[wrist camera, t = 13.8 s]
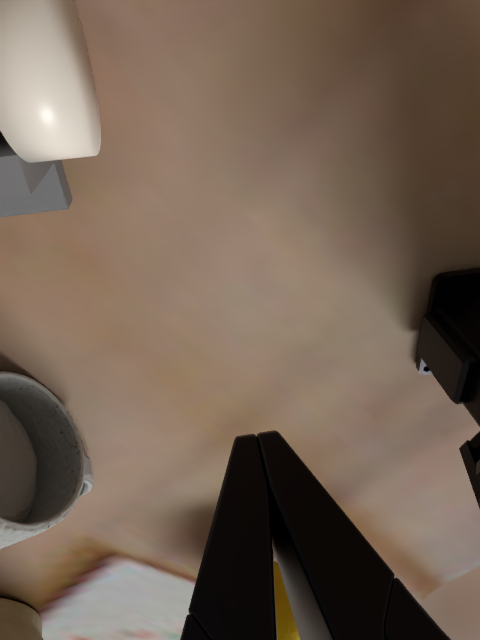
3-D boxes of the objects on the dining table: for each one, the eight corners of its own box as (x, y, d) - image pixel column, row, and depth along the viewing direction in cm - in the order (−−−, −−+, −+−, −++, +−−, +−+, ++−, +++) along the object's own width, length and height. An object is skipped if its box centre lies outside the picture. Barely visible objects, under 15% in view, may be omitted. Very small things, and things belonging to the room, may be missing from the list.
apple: (282, 532, 35) (308, 654, 29) (295, 571, 39) (321, 687, 32) (201, 553, 35) (209, 678, 29) (222, 590, 39) (233, 708, 32)
